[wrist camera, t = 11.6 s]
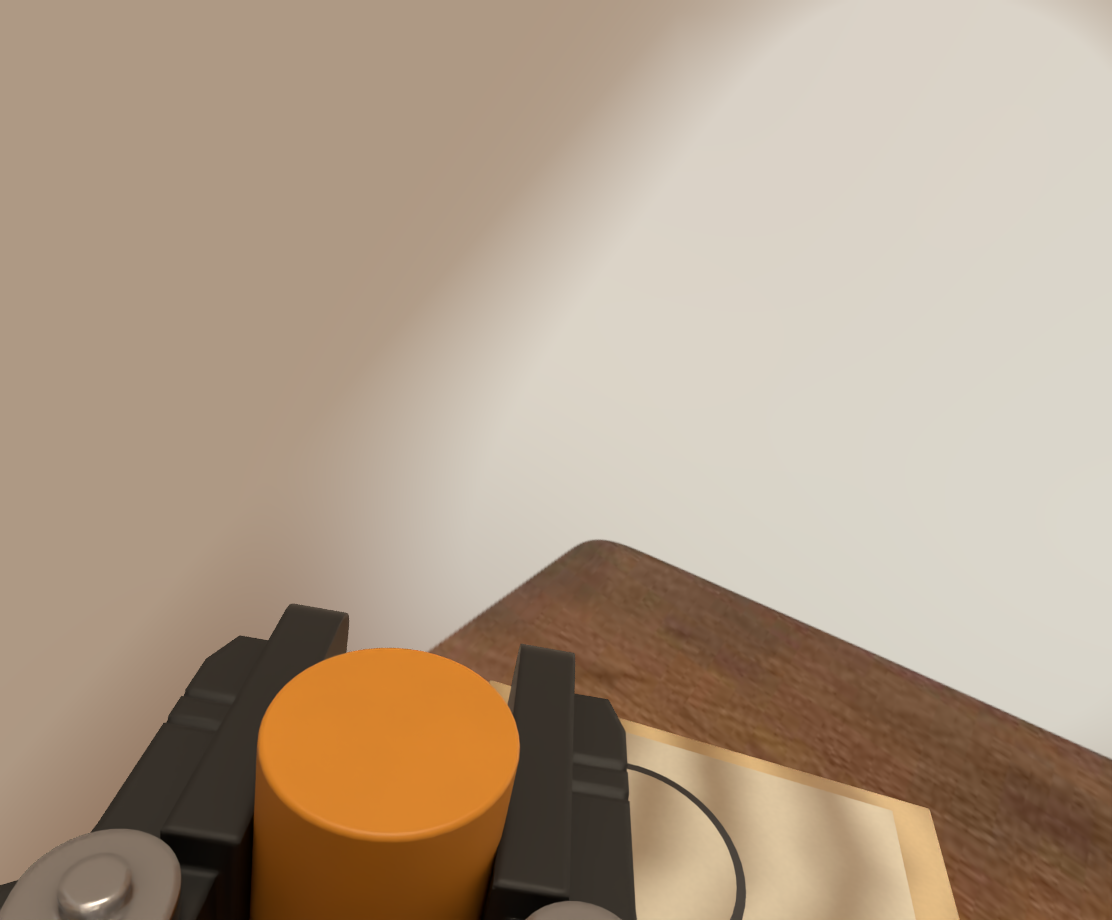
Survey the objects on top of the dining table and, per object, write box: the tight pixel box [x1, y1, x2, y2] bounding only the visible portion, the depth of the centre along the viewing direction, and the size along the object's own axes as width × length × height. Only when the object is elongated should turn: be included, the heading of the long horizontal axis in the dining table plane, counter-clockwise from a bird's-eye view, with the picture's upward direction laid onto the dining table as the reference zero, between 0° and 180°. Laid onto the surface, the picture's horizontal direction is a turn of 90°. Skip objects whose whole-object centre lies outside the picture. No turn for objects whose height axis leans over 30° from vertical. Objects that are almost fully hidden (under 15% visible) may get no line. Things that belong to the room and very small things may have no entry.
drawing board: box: [489, 681, 960, 920], centre depth 33 cm, size 22×16×1 cm
